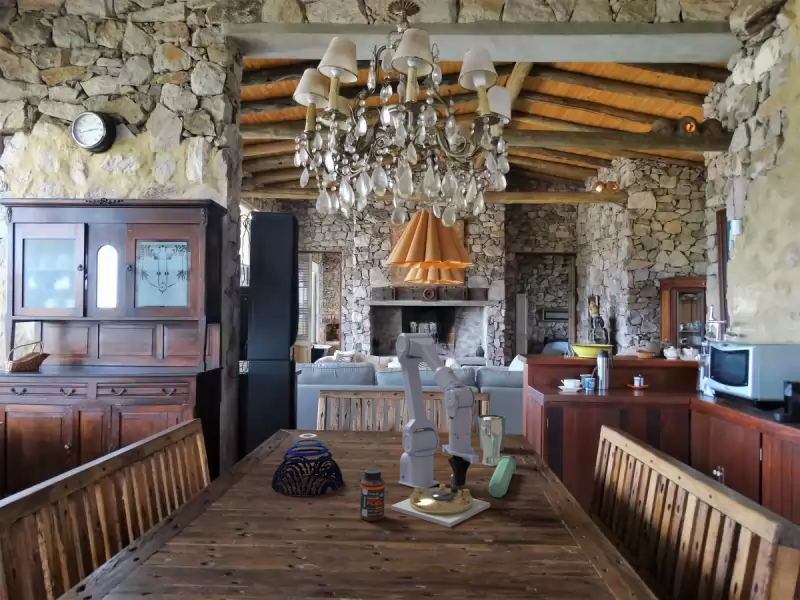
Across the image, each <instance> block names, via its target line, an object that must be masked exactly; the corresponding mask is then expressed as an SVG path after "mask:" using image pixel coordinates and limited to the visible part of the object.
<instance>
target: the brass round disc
mask: <svg viewBox="0 0 800 600" xmlns="http://www.w3.org/2000/svg"><path fill="white" fill-rule="evenodd" d="M470 491H471V489H468V488H464V489H463V488H462V489H459V486H456V484H455V478H454V473H450V487H446V484H445V483H439V487H429V488H426V489H422V488H420V487H416V488H414V487H413V492H412V493H411V494H409V498H410V505H411V507H412V508H414V509H416V510H418V511H420V512H424V513H429V514H437V515H450V514H458V513H462V512H465V511H468V510H469V509H471V508H472V506H473V499H474V498H473V496H472V495H471V493H470Z"/></svg>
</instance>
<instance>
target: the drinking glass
mask: <svg viewBox="0 0 800 600" xmlns="http://www.w3.org/2000/svg"><path fill="white" fill-rule="evenodd" d="M488 416H491V417H499V418H501V422H502V439H501V445H500V451H501V452H504V450H505V436H506V435H505V433H506V419H507V418H506V416H505V415H502V414H494V413H488V414H487V413H486V414H480V415H478V416H477V421H478V422H477V423H478V431H479V432H478V433H479V443H480V450H481V451H483V444H482V438H481V420H482V417H488Z"/></svg>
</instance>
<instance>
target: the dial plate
mask: <svg viewBox="0 0 800 600" xmlns="http://www.w3.org/2000/svg"><path fill="white" fill-rule="evenodd" d="M490 507H491V502H488V501H484V500H481V499H476V498H473V506H472V508H471V509H469V510H468V511H465V512H462V513H458V514H450V515H437V514H429V513H424V512H420V511H418V510H416V509H414V508H412V507H411V505H410V497H408V498H407V499H405V500H402V501H400V502H397V503H394V504H391V511H395V512H398V513H402V514H405V515H408V516H411V517H415V518H417V519H422V520H425V521H427V522H431V523H434V524H438V525H441V526H443V527H444V526H445V527H447V528H452V527H454V526H455V525H457V524H459V523H461V522H463V521H465V520H467V519H469V518H471V517H472V516H474V515H476V514H479V513H482V511H485V510H486V509H489V508H490Z"/></svg>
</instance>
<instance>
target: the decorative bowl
mask: <svg viewBox="0 0 800 600" xmlns="http://www.w3.org/2000/svg"><path fill="white" fill-rule="evenodd" d="M317 437H318V435H317V434H316V433H315V434H314V433H303V434H300V435H298V438H299V439H300V438H301V439H300V440H296V441H295V442H293V443H292V445H293V446H291V447H288V448H287V450H286V452H285V453H284V455H283V457H282V460H283V461H282V462H281V463H280V464H279V466H278V467H277V469H276V470H275V472H274V473H273V476H272V481H271V489H272V488H273V489H274V490H275V491H278V490H279V489H280V493H282V494H281V495H283V494H288V495H301V496H302V495H305V496H306V495H317V496H319V495H318V494H323V495H325V494H324V493H327V491H328V489H329V488H330V489H331V491H334V492H335V490H336V491H337V489H338V490H340V489H341V488H342V487H343V484H344V479H343V474H342V471H341V468H340V466H339V465H338V463H337V462H336V460H335V459H333V458H332V457H333V454H332V453H331V452H330V451H329V448H328V447H327V446H325V445H324V442H323V441H321V440H319V439H314V438H317ZM301 442H315V443H308V444H306V443H305V444H302V443H301ZM316 442H317V443H316ZM298 448H299V449H298ZM300 448H301V449H300ZM294 449H295V450H294ZM325 454H328V455H325ZM320 455H321V456H320ZM288 456H289V457H288ZM315 456H316V457H317V456H319V457H317V458H311V459H308V458H306V457H315ZM312 463H313V465H312ZM302 466H303V467H302ZM308 466H309V467H308ZM303 474H305V475H306V474H310V475H307V478H306V480H305V482H304V484H303V481H302V478H301V476H300V475H303ZM316 474H318V475H316ZM288 475H289V476H288ZM321 475H324V476H321ZM295 476H296V477H295ZM328 476H330V477H328ZM289 477H291V478H289ZM334 477H335V478H334ZM283 478H284V479H285V478H286V479H285V480H286V482H285V480H282V479H283ZM312 478H313V479H312ZM290 479H291V480H292V483H293V485H292V483H291V480H290ZM330 479H331V480H330ZM326 480H327V481H326ZM277 482H278V483H279V482H281V483H283V485H284V486H283V485H282V484H278V483H277ZM297 483H298V484H297ZM310 483H311V484H310ZM318 483H319V484H318ZM309 485H310V486H309ZM288 486H289V487H288ZM293 486H294V487H293ZM284 487H285V489H284ZM308 487H309V488H308ZM320 487H321V488H320ZM340 487H341V488H340ZM294 488H295V489H294ZM339 488H340V489H339ZM273 489H272V490H273ZM274 490H273V491H274ZM285 490H286V492H285ZM275 491H274V492H275ZM331 491H329V492H331ZM299 492H300V493H299ZM290 493H291V494H290ZM331 493H332V492H331ZM288 495H287V496H288ZM301 496H300V497H301ZM305 496H304V497H305ZM302 497H303V496H302ZM306 497H307V496H306Z"/></svg>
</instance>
